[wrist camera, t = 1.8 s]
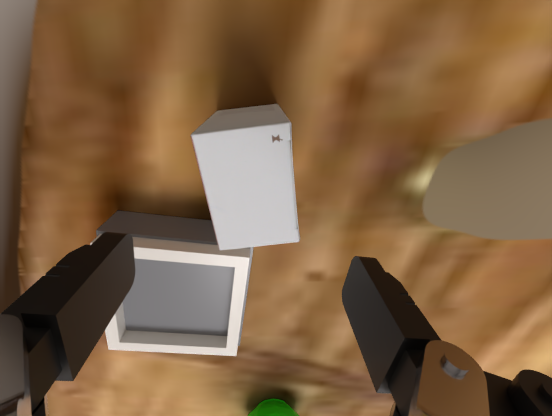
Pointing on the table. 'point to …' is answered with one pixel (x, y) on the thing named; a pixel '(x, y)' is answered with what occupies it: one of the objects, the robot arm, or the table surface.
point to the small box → (248, 176)
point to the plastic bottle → (273, 409)
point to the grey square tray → (179, 287)
